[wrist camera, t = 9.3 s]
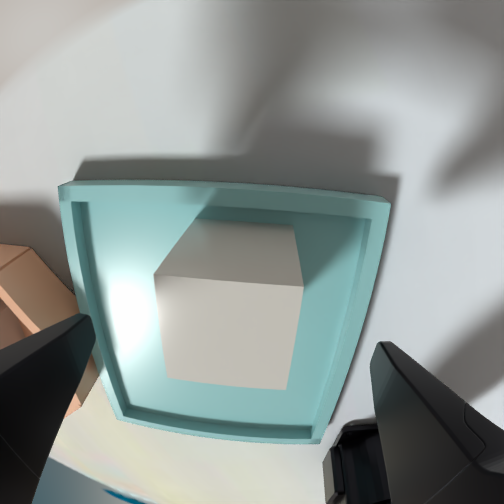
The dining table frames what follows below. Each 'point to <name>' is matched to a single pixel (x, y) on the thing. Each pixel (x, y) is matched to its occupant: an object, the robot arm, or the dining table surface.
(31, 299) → the bowl
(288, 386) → the tray
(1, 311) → the cube
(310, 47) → the dining table surface
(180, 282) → the grey cardboard cube
